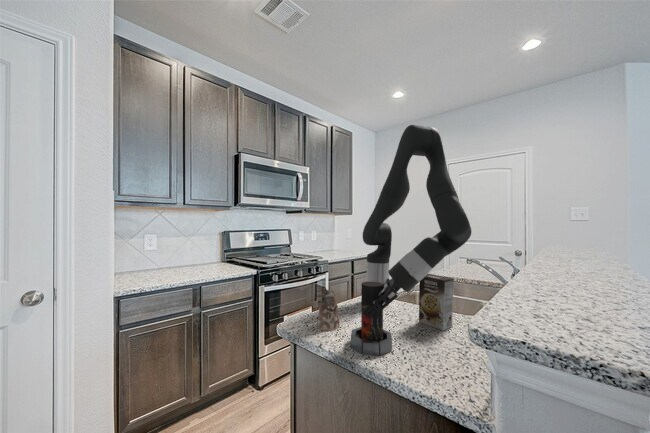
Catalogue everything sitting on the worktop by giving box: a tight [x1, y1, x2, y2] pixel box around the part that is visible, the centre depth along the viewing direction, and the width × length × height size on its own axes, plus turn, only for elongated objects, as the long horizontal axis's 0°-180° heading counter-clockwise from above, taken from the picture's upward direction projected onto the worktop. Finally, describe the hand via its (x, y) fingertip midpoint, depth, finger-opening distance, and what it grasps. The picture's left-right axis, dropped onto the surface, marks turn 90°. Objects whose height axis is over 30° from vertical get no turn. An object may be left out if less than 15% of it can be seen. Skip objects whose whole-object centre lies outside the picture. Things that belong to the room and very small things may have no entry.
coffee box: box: [418, 273, 455, 331], centre depth 94 cm, size 9×6×16 cm
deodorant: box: [360, 281, 384, 342], centre depth 78 cm, size 6×6×15 cm
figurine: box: [316, 287, 340, 332], centre depth 91 cm, size 7×7×12 cm
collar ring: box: [350, 327, 393, 357], centre depth 78 cm, size 11×11×3 cm
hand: (365, 311), depth 78 cm, fingers closed on deodorant, 6 cm apart
